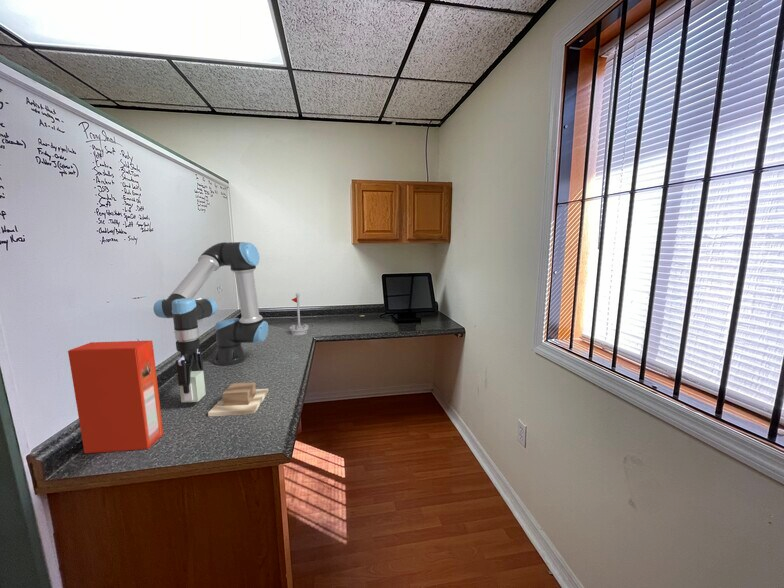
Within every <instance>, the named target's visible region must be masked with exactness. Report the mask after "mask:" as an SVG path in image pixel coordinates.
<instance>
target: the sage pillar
mask: <svg viewBox="0 0 784 588" xmlns="http://www.w3.org/2000/svg"><path fill="white" fill-rule="evenodd" d="M190 384H192V393H193V400H192V401H185V400H184V391H183V386H179V395H180V403H197V402H199V401H200V400H202V398H203V397H204V396H206V384H205V375H204V370H203V371H192V370H191V375H190Z"/></svg>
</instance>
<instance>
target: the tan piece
mask: <svg viewBox="0 0 784 588" xmlns="http://www.w3.org/2000/svg"><path fill="white" fill-rule="evenodd" d="M256 385H257V384H256V382H255V381H253V382H234V383H231V384H230V385H229V386H228V387H227V388H226V389H225V390H224V391H223V393H222V397H221V399H220V400H218V401H217V403H216V404H215V405H213V407H212V408H211V409H210V410H209V411H208V412H207V417H224V416H242V415H245V416H246V415H255V414H256V412H257V410H258V409H259V408H260V406H261V404H262V403H263V401H264V400H265V399H266V396H267V395H268V393H269V388H257V386H256Z"/></svg>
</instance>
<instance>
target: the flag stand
mask: <svg viewBox="0 0 784 588" xmlns="http://www.w3.org/2000/svg"><path fill="white" fill-rule="evenodd" d="M300 296H301V294H300V293H298V292H296V293H295V297H294V298H292V299H291V301H292V302H294V303H297V304H296V309H297V311H296V313H297V325H295V324H291V326H289V330H290V331H291V335H293V336H303V335H305V334H308V330H309V324H305V323H304V324H303V325H302V323H301V314H300V313H301V312H300ZM305 332H306V333H305ZM294 333H295V334H294Z"/></svg>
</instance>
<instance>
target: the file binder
mask: <svg viewBox="0 0 784 588" xmlns="http://www.w3.org/2000/svg"><path fill="white" fill-rule="evenodd" d="M153 343H154V342H153V340H129V341H128V340H125V341H123V340H122V341H98V342H94V341H93V342H89V343H86V344H83V345H80V346H78V347H74V348H71V349H69V350H67V353H68V360H69V366H70V371H71V372H70V373H71V380H72V383H73V389H74V397H75V403H76V404H75V405H76V409H77V416H78V421H79V428H80V434H81V440H82V445H83V451H84V454H96V453H97V454H99V453H110V452H111V453H112V452H126V451H138V450H139V451H140V450H142V451H143V450H149V449H150V448H151V447H152V446H153V445H154V444H155V443H156V442H157V441H158V440H159V439H160V438H161V437H163V435H164V427H163V420H162V411H161V410H162V409H161V401H160V393H159V386H158V377H157V370H156V369H157V368H156V361H155V353H154V344H153Z"/></svg>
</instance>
